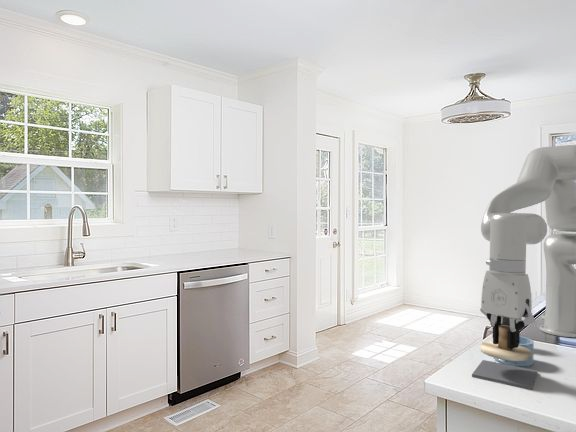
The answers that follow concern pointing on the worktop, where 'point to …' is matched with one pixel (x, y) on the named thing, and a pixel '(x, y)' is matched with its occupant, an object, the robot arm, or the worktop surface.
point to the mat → (506, 374)
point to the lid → (505, 348)
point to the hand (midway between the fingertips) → (505, 344)
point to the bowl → (530, 345)
